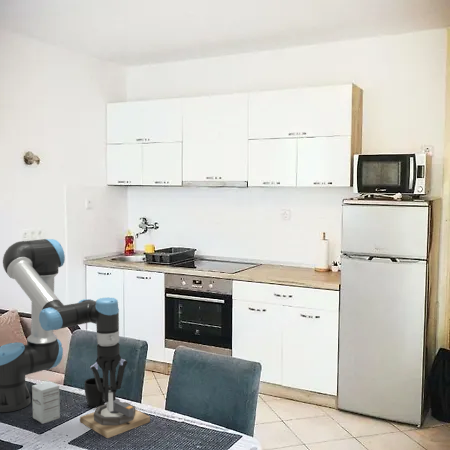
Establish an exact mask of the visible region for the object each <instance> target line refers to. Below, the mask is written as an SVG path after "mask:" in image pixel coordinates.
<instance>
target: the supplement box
mask: <svg viewBox="0 0 450 450" xmlns="http://www.w3.org/2000/svg"><path fill="white" fill-rule="evenodd" d="M31 393H32V395H31V403H32V418H33V419H34V420H35V421H38V422H39V423H40V424H42V425H43V424H46V423H50V422H53V421H55V420H59V419H60V418H61V409H60V408H61V407H60V405H61V404H60V385H58V384H56V383H55V382H52V381H51V380H46V381H44V382H41V383H40V382H39V383H37V384H34V385H31Z"/></svg>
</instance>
